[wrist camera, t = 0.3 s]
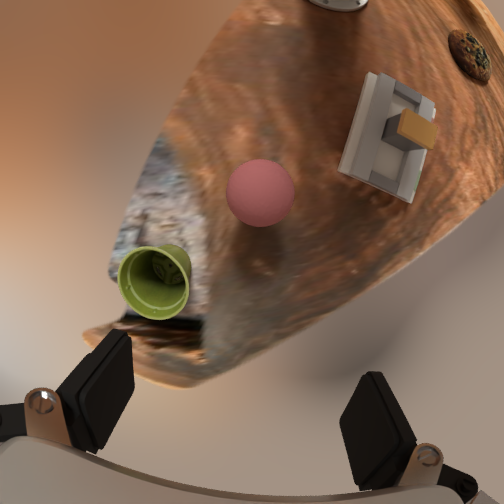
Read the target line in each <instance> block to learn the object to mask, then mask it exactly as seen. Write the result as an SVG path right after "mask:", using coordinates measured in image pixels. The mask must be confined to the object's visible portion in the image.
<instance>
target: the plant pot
mask: <svg viewBox="0 0 504 504" xmlns="http://www.w3.org/2000/svg"><path fill="white" fill-rule="evenodd" d="M160 252H161V254H160ZM169 264H172V267H170V266H169ZM157 267H158V268H159V271H160V272H161V274H162V275H160V274H159V273H158V271H157ZM190 272H191V261H190V258H189V256H188V254H187V253H186V252H185V251H184V250H183V249H182V248H180V247H178V246H175V245H171V244H168V245H164V246H160V247H151V246H145V247H139V248H137V249H134V250H132V251H131V252H129V253H128V254H127V255H126V256H125V257H124V258H123V260H122V262H121V264H120V266H119V270H118V286H119V289H120V292H121V295H122V297H123V298H124V300H125V301H126V303H127V304H128V305H129V306H130V307H131V308H132V309H133V310H134V311H136V312H137V313H138V314H140V315H142V316H144V317H146V318H149V319H155V320H164V319H168V318H171V317H173V316H175V315H177V314H178V313H179V312H180V311H181V310H182V309H183V308H184V306H185V304H186V302H187V300H188V296H189V281H188V279H189V275H190ZM180 276H183V278H181V279H180V280H175V279H176V278H179V277H180Z"/></svg>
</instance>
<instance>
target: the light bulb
mask: <svg viewBox="0 0 504 504" xmlns="http://www.w3.org/2000/svg"><path fill="white" fill-rule="evenodd" d="M294 196H295V190H294V185H293V181H292V179H291V177H290V175H289V174H288V172H287V171H286V170H285V169H284V168H283V167H282V166H280V165H279V164H277V163H275V162H273V161H270V160H265V159H256V160H251V161H248V162H246V163H244V164H242V165H240V166H239V167H238V168H237V169H236V170H235V171H234V172H233V173H232V175H231V176H230V178H229V181H228V184H227V189H226V198H227V202H228V205H229V207H230V209H231V211H232V212H233V214H234V215H235V216H236V217H237V218H238V219H239V220H241V221H242V222H244V223H246V224H248V225H251V226H255V227H265V226H270V225H273V224H275V223H277V222H279V221H280V220H282V219H283V218H284V217H285V216H286V215H287V214H288V212H289V211H290V209H291V207H292V205H293V202H294Z"/></svg>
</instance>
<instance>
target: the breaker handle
mask: <svg viewBox="0 0 504 504" xmlns="http://www.w3.org/2000/svg"><path fill="white" fill-rule="evenodd" d="M437 129H438V127H437V126H436V125H434V124H433V123H431V122H429V121H428V120H426V119H425V118H423V117H421V116H420V115H418V114H416V113H415V112H413V111H411V110H410V109H408V108H405V109H403V110H402V113H400V114H397V115H395V116H393V117H390V118H388V119H386V123H385V127H384V130H383V134H382V137H381V140H382V141H384V142H386V143H388V144H390V145H392V146H394V147H396V148H398V149H399V150H401V151H403V152H404V151H412V150H419V149H426V150H433V146H434V142H435V138H436V133H437Z"/></svg>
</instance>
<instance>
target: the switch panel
mask: <svg viewBox="0 0 504 504" xmlns="http://www.w3.org/2000/svg"><path fill="white" fill-rule="evenodd" d="M434 104H435V103H434V102H432V101H431V100H429V99H427V98H426V97H424V96H423V95H421V94H419V93H418V92H416V91H414V90H413V89H411V88H409V87H408V86H406V85H404V84H402V83H401V82H399V81H397V80H395V79H393V78H391V77H389V76H388V75H386V74H384V73H382V72H381V73H380V74H379V75H375V74H373V73H371V72H368V73H367V74H366V76H365V80H364V84H363V87H362V91H361V94H360V98H359V101H358V105H357V108H356V112H355V115H354V119H353V122H352V125H351V128H350V132H349V135H348V138H347V141H346V145H345V148H344V151H343V154H342V157H341V160H340V163H339V166H338V169H337V171H338V172H341V173H343V174H345V175H348V176H350V177H353V178H355V179H357V180H360V181H362V182H364V183H366V184H369V185H371V186H373V187H375V188H378V189H380V190H382V191H384V192H386V193H388V194H390V195H393V196H395V197H397V198H399V199H401V200H403V201H405V202H407V203H411V204H412V201H413V198H414V195H415V191H416V189H417V185H418V182H419V179H420V175H421V172H422V168H423V164H424V160H425V156H426V152H427V150H426V149H419V150H412V151H404V152H403V151H401V150H399V149H398V148H396V147H394V146H392V145H390V144H388V143H386V142H384V141H382V140H381V137H382V134H383V130H384V127H385V123H386V119H388V118H390V117H393V116H395V115H397V114H400V113H402V110H403V109H405V108H408V109H410V110H411V111H413V112H415V113H416V114H418V115H420V116H421V117H423V118H425V119H426V120H428V121H429V122H431V123H433V122H434V117H435V112H436V109H435V108H434Z"/></svg>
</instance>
